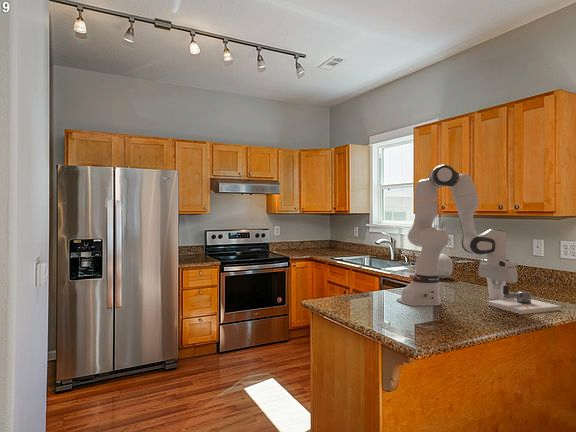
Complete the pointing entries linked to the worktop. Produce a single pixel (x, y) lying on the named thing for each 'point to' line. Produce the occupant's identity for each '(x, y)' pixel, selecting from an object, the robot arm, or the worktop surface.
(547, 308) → the stand
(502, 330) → the worktop surface
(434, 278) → the robot arm
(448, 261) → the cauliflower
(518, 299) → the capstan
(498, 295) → the foam cup
